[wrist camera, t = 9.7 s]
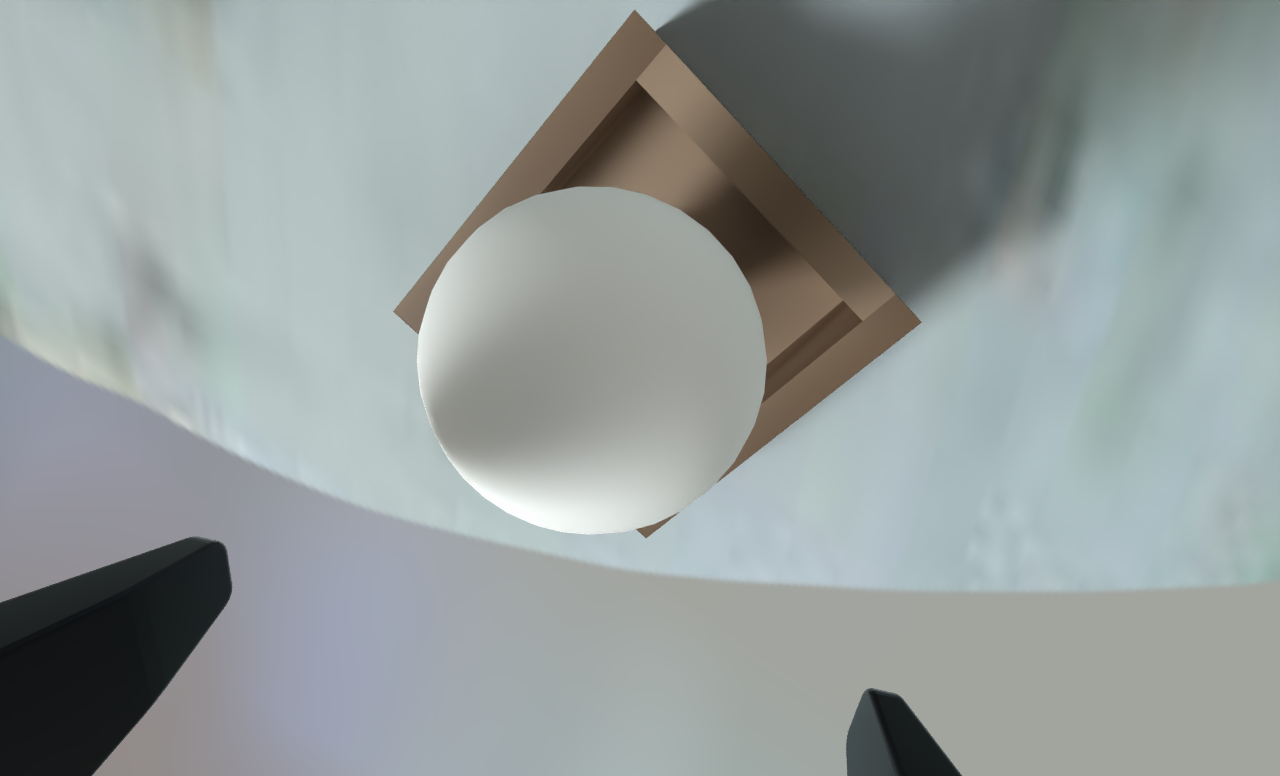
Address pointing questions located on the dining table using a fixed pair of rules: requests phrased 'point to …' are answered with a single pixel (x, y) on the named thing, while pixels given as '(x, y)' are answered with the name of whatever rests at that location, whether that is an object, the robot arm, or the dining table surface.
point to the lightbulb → (592, 360)
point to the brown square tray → (707, 218)
